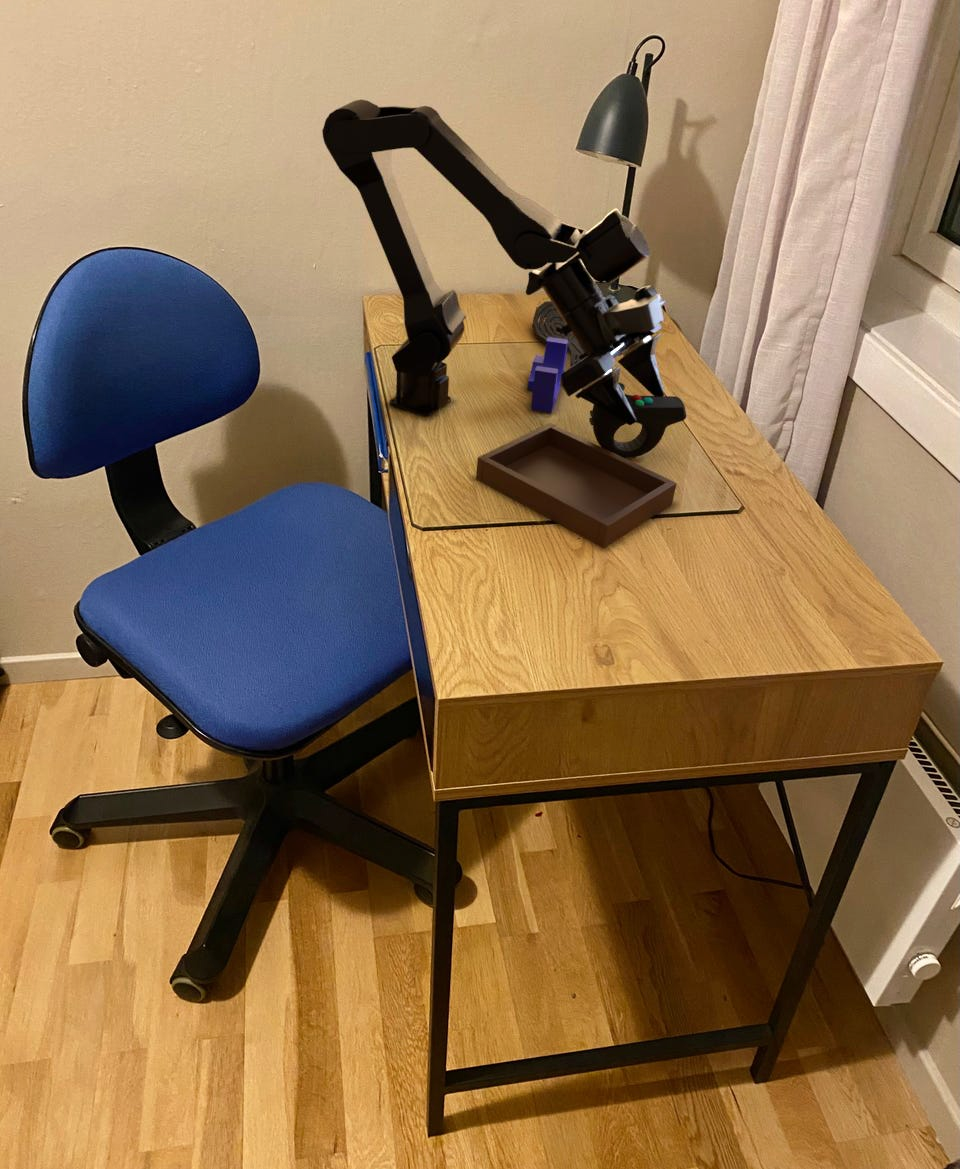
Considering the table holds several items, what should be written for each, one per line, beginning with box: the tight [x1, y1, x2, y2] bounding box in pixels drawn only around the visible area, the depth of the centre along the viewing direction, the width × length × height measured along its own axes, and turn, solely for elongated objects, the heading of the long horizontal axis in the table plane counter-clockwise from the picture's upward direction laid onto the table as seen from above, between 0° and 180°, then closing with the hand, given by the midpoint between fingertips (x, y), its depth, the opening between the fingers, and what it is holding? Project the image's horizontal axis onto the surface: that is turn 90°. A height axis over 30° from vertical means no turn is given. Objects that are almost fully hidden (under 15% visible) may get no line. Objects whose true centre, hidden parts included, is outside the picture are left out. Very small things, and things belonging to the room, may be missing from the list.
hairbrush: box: [531, 297, 584, 367], centre depth 151 cm, size 8×4×25 cm
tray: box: [475, 422, 677, 549], centre depth 117 cm, size 20×14×3 cm
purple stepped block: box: [527, 337, 568, 414], centre depth 138 cm, size 12×4×6 cm, turn 169°
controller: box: [588, 382, 687, 459], centre depth 123 cm, size 4×12×10 cm, turn 97°
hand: (647, 409), depth 122 cm, fingers open, 9 cm apart
